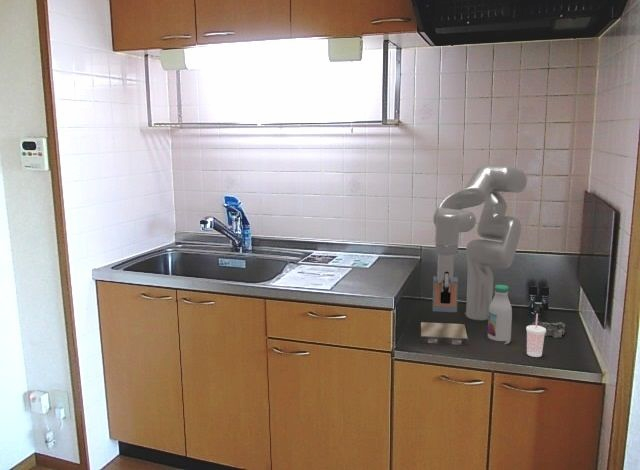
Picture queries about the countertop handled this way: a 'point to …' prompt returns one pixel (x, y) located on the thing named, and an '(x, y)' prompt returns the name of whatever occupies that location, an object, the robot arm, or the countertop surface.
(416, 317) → the countertop surface
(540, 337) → the beverage cup
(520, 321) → the countertop surface
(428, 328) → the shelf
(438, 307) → the carton
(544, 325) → the egg carton
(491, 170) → the robot arm
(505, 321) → the milk bottle
